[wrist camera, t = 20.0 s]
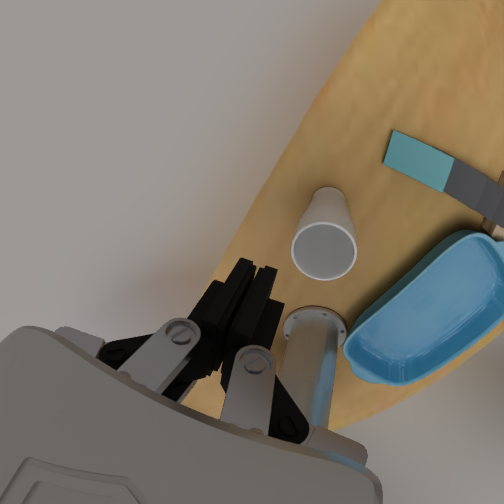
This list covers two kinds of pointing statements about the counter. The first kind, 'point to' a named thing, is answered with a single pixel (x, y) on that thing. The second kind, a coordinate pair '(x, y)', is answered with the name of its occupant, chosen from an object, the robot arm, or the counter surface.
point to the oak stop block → (491, 226)
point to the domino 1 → (465, 183)
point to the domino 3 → (500, 213)
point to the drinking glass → (325, 237)
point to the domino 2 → (490, 199)
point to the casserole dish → (431, 312)
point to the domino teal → (418, 161)
